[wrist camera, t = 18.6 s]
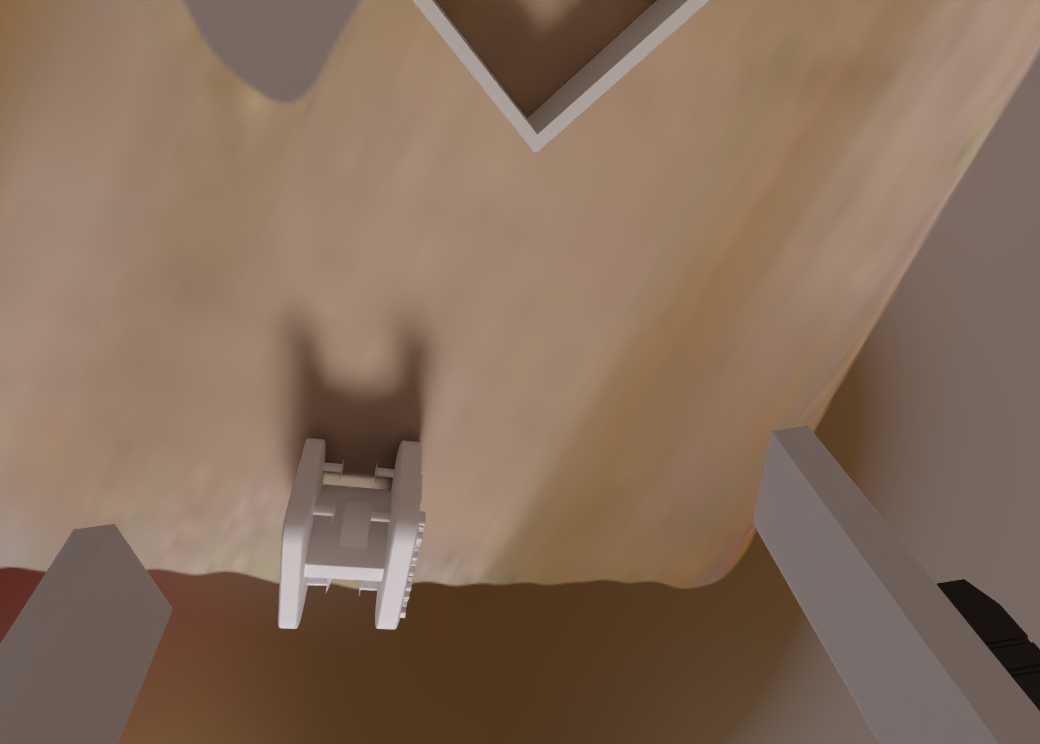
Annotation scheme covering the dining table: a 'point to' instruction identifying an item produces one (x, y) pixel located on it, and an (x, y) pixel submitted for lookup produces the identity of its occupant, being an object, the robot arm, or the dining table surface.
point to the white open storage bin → (587, 84)
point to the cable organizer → (352, 534)
